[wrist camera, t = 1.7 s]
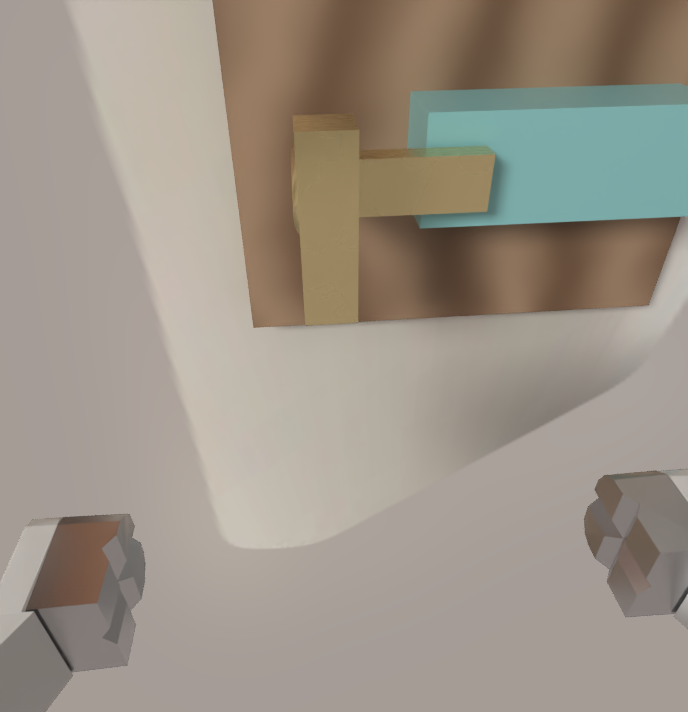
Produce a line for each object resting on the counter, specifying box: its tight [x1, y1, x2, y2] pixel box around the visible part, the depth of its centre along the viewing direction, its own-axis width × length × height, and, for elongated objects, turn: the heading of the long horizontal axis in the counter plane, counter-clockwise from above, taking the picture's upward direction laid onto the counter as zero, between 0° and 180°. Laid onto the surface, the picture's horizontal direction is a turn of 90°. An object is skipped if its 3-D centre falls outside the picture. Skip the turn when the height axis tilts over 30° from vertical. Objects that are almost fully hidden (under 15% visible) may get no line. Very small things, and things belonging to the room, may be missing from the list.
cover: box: [407, 83, 688, 229], centre depth 26 cm, size 13×5×4 cm, turn 91°
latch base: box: [213, 0, 688, 328], centre depth 29 cm, size 24×20×2 cm
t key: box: [290, 114, 496, 326], centre depth 23 cm, size 8×7×10 cm
